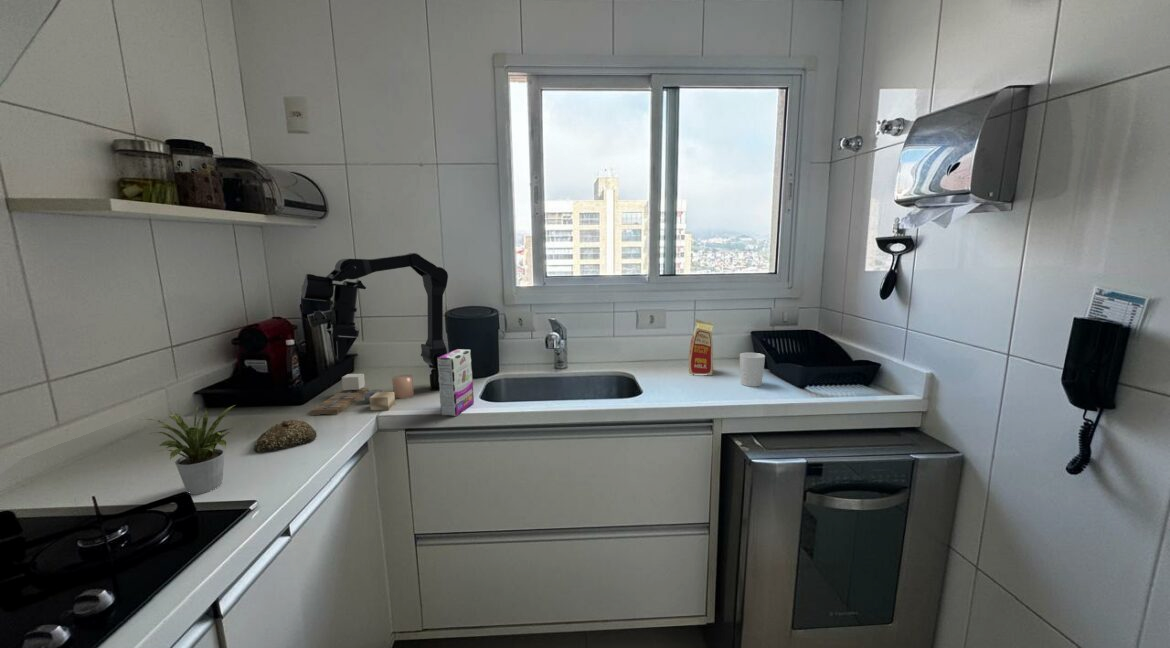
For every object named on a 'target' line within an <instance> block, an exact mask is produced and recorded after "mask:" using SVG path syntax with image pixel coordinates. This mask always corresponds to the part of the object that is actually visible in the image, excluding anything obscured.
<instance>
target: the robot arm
mask: <svg viewBox="0 0 1170 648" xmlns="http://www.w3.org/2000/svg"><path fill="white" fill-rule="evenodd" d="M408 267H409V268H411V269H412V270H413V271H414V272H415V273H416V274H418V275H419V276H420V277H421V278H422V282H423V283H422V284H423V288H424V289H425V290H424V291H425V292H426V295H427V339H426V342H425V343H421V344H420V348H421V353H420V357H422V360H423V361H424V363H425V364H427V365H428V368H429V369H431V370H430V374H429V383H430V385H429V386H430V389H429V390H430V391H439V378H438V364H437V358H439V357H441V356H443V355H445V354H447V353H448V350H447V346H446V344H445V341H444V339H443V337H444V334H443V332H444V330H443V329H444V328H443V327H444V326H443V325H444V321H443V320H444V319H443V313H444V312H443V307H444V305H443V303H444V302H443V301H444V300H443V299H444V297H443V296H444V294H445V291H446V289H447V286H448V279H449V273H448V271H446V269H445V268H443V267H440V266H437V265H435V264H434V263H432V262H431V261H429V260H427V259H426V258H424V257H423V256H421V254H420V253H419V254H418V253H417V252H412V253H411V252H408V253H406V254H400V255H395V256H394V255H393V256H387V257H377V258H371V259H366V258H341V259H339V260H337V262H336V263H335V266H334V269H333V270H332V271H330V273H329V274H327V276H320V275H315V274H310V273H305V277H304V280H303V283H302V285H301V298H302V300H309V301H310V300H311V301H321V302H327V301H328V300H329V299H332V298H333V302H332V304H331V305H330V307H329V310H324V311H323V310H322V311H321V310H320V309H319V310H318V311H315V310H314V311H313V313H309V314H307V315H306V316H307V320H308V322H309V326H310V327H311V328H316V327H318V326H322V325H325V330H326V332H327V333H328V334H329V335H330V336H331V339H332V348H333V356H336V357H337V361H338V362H343V360H344V359H345V357H346V356H347V354H348V353H349V351H350V349H351V348H352V346H353V344H354V343H355V341H356V340H357V338H358V337H359V333H360V332H359V331H360V329H358V327H357V326H356V322H355V315H356V313H357V298H358V290H359V289H361V290H366V289H367V287H366V286H365V285H364V284H363V283H362V280H360V278H363V277H366V276H368V275H371V274H372V273H377V272H382V271H383V272H384V271H389V270H395V269H404V268H408ZM356 279H357V280H356ZM347 280H356V281H347ZM333 282H342V284H341V283H333Z"/></svg>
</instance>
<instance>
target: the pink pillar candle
mask: <svg viewBox="0 0 1170 648" xmlns="http://www.w3.org/2000/svg"><path fill="white" fill-rule="evenodd" d="M391 380H392V381H391V382H392V383H391V384H392V392H394V394H395V399H397V398H403V399H408V398H407V397H409V398H411V396H412V397H413V396H414V395H415V393H414V392H415V390H414V389H415V388H414V376H413V375H412V374H399V375H395V376H392V378H391Z"/></svg>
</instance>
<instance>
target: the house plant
mask: <svg viewBox="0 0 1170 648" xmlns="http://www.w3.org/2000/svg"><path fill="white" fill-rule="evenodd" d="M200 405H201V403H199V404H198V406H197V407H196V409H195V413H194V422H193V424H194V425H193V426H191V427H189V426H188V425H187V424H186V422H185V421H184V420H183V418H182V417H181V415H180V414H178V413H176V412H172V411H170V413H171V414H168V413H167V415H168V416H169V417H170V418H171V419H172V420H173V421H175V423H176V424H177V426H179V427H180V428H181V430H182V431H183V432H184V433H182V432H181V431H180V430H178V429H176V428H174V427H171V426H170V425H168V424H167V423H166V422H164V421H161V420H158V419H153V418H144V419H143V418H141V419H137V420H138V421H139V420H140V421H141V420H145V421H146V420H147V421H154V422H157V423H159V424H162V425H164V426H161V429H162V428H164V429H167V430H169V431H171V432H173V433H174V434H175V435H176V436H178V437H179V438H180V439H181V440H182V441H183V442H185V444H186V445H184V444H182V442H180V441H179V440H178V439H176V437H174V436H173V435H172V434H169V433H167V432H163V431H154V432H153V434H156V433H158V434H164V435H165V436H167V437H169V438H170V439H172V440H169V439H168V440H165V441H163V442H161V443H160V444H159V445H158V447H164V446H165V449H166V448H167V449H168V448H175V449H173V450H172V449H168V451H170V458H169V461H171V460H172V458H174V457H175V456H177V455H180V457H179V458H178V459H176V460H175V464H174V465H175V466H176V469H177V471H178V474H179V475H180V478H181V482H182V484H183V486H184V488H185V491H186V492H190V493H191V494H195V495H201V493H202V494H205V492H206V493H209V492H211V491H210V490H212V491H214V490H216V489H218V488H219V487H218V486H220V485H221V484H223V479H224V478H223V477H224V464H225V463H224V462H225V450H224V449H221V448H216V447H217V445H221V446H223V447H224V448H225V449H227V441H226V440H225V439H223V438H224V437H225V436H227V435H228V434H231V433H232V431H229V430H232V429H234V427H232V428H231V427H230V428H225V429H222V430H219V431H215V429H216V428H217V426H218V425H219V424H220V423H221V421H222V420H223V419H224V418H225V417H227V413H228V412H229V411H230V410H231V409H232V408H234V407H235V406H236V404H234V405H232V406H229V407H227V409H225V410H224V411H222V412H221V413H220V414H219V415H218V417H217V418H216V419H214V421H213V423H212V425H211V426H210V427H209V428H208V430H207V426H208V420H209V413H208V410H207V409H206V408H204V414H202V415H201V417H199V419H198V421H197V413H198V410H199V406H200ZM172 414H173V415H172ZM201 418H202V423H201V427H200V428H199V425H200V422H201ZM158 428H160V426H158V427H157V426H156V427H152V428H151V430H153V429H158ZM147 430H149V431H150V428H149V429H147ZM214 431H215V432H214ZM226 431H227V432H226ZM224 432H225V433H224ZM222 433H223V434H222ZM150 434H152V432H150V433H149V435H150ZM166 446H167V447H166ZM162 451H163V449H160V450H157V451H156V452H162ZM182 452H183V453H182ZM221 486H222V485H221ZM221 486H220V487H221ZM217 487H218V488H217ZM215 488H216V489H215ZM213 489H214V490H213ZM208 491H209V492H208ZM191 494H190V495H191Z"/></svg>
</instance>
